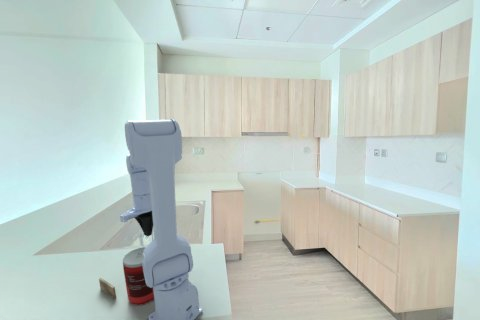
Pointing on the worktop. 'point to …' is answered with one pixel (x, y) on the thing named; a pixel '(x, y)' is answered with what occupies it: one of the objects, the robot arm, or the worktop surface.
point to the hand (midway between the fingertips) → (148, 234)
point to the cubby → (107, 287)
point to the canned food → (136, 278)
